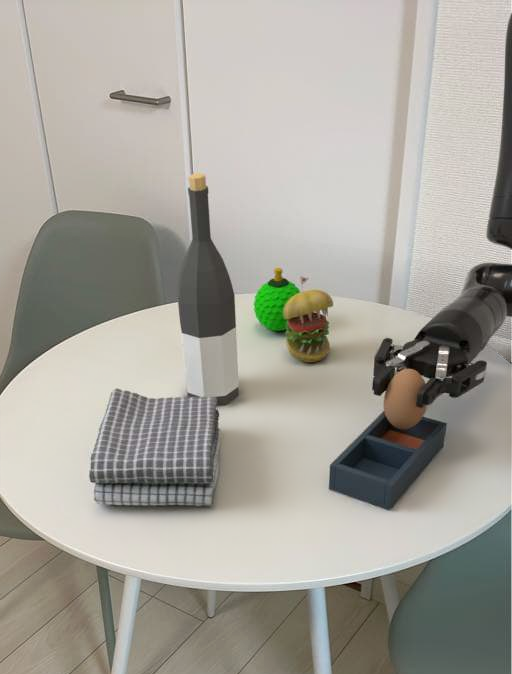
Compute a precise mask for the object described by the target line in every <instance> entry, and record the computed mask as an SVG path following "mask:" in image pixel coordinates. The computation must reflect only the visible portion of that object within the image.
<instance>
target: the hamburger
mask: <svg viewBox="0 0 512 674" xmlns="http://www.w3.org/2000/svg"><path fill="white" fill-rule="evenodd" d="M299 279H300V283H301V289H302V291H300V293H298V294H296V295H294V296H293V297H291V298H290V299H289V300H288V301H287V302H286V304H285V305H284V309H283V316H284V318H285V319H289V321H287V322H286V324H285V328H286V329H285V330H286V331H285V334H284V335H285V336H286V343H285V344H286V348H287V350H288V352H289V354H290V355H291V356H292V357H294V358H295V359H296V360H298V361H300V362H305V363H315V362H319V361H321V360H322V359H324V358H325V357H326V355H327V354H328V352H329V351H330V345H331V344H330V341H329V339H328V335H330V331H329V328H330V321H328V319H327V317H329V308H333V307H334V300H333V299H332V297H331V295H330V294H329V293H328V292H326V291H324V290H321V289H307V290H304V288H303V285H304V284H305V283H306V282H307V281H308V280H309V279H310V278H309V277H304V276H301V275H300V276H299ZM321 312H322V313H321Z"/></svg>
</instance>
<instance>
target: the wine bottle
mask: <svg viewBox="0 0 512 674" xmlns="http://www.w3.org/2000/svg"><path fill="white" fill-rule="evenodd" d="M206 180H207V179H206V174H205V173H201V172H198V173H192V174H189V175H188V182H189V187H187V193H188V197H189V211H190V222H191V223H190V224H191V236H192V238H191V241H190V244H189V247H188V249H187V251H186V253H185V256H184V258H183V261H182V262H181V267H180V271H179V275H178V281H177V289H176V296H177V303H178V304H177V306H178V316H179V326H180V336H181V349H182V357H183V358H182V359H183V368H184V377H185V378H184V379H185V387H186V393H187V394H186V395H187V397H199V398H201V397H215V398H217V407H219V406H226V405H227V404H229V403H230V402H232V401H233V400H235V399H237V398H238V397H239V393H240V386H239V385H240V384H239V363H238V362H239V361H238V343H237V339H238V338H237V320H236V319H237V318H236V298H235V297H236V295H235V292H234V287H233V284H232V280H231V277H230V274H229V271H228V269H227V266H226V264H225V261H224V258H223V256H222V255H221V254H220V252H219V250H218V248H217V246H216V245H215V244H214V243H215V242H214V241H213V240H212V238H211V235H212V234H211V222H210V207H209V206H210V205H209V186H208V185H207V181H206Z"/></svg>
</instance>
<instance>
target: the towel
mask: <svg viewBox="0 0 512 674" xmlns="http://www.w3.org/2000/svg"><path fill="white" fill-rule="evenodd" d="M108 399H109V400H108V403H107V404H106V405H107V406H106V409H105V413H104V416H103V417H102V420H101V423H100V425H99V428H98V433H97V434H98V435H97V437H96V441H95V444H94V447H93V449H92V450H93V451H92V453H91V455H90V470H89V474H88V478H89V481H90V483H93V484H94V489H93V490H94V491H93V494H94V495H93V496H94V497H93V500H94V502H96V504H98V505H101V504H102V505H108V506H109V505H110V506H112V505H116V506H196V507H200V506H212V505H213V504H214V501H213V497H214V491H215V489H216V485H217V480H218V476H219V472H220V471H219V470H220V469H219V468H220V466H219V465H220V463H219V454H220V448H221V433H222V429H220V428H219V420H220V411H219V409H217V407H218V406H217V398H215V397H201V398H199V397H188V396H185V397H181V396H179V397H178V396H177V397H172V396H171V397H166V398H164V397H160V398H153V397H151V398H149V397H147V396H145V395H140V394H138V393H137V392H133V391H132V392H131V391H129V390H126V389H125V390H122V389H121V388H114V389H113V390H112V391H111V392H110V395H109V398H108Z"/></svg>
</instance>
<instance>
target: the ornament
mask: <svg viewBox="0 0 512 674" xmlns="http://www.w3.org/2000/svg"><path fill="white" fill-rule="evenodd" d="M283 272H284V270H283V268H281V267H276V268H274V270H273V273H274V278H271V279H269V281H267V282H265V283H263V284H261V287H260V288H259V289H258V290H257V293H255V295H254V301H253V306H254V308H253V312H254V314H255V318H256V319H257V320H258V323H260V324H261V325H262V326H263V327H265V328H266V329H267V330H271V331H275V332H281V331H285V330H286V328H285V324H286V322H287V321H289V319H285V318H284V316H283V309H284V305H285V304H286V302H287V301H288V300H289V299H290V298H291V297H293V296H294V295H296V294H298V293H300V292H301V291H300V289H299V287H297V286H296V284H295V283H294V282H291V281H289V280H288V278H285V277H283V276H282V274H283Z"/></svg>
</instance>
